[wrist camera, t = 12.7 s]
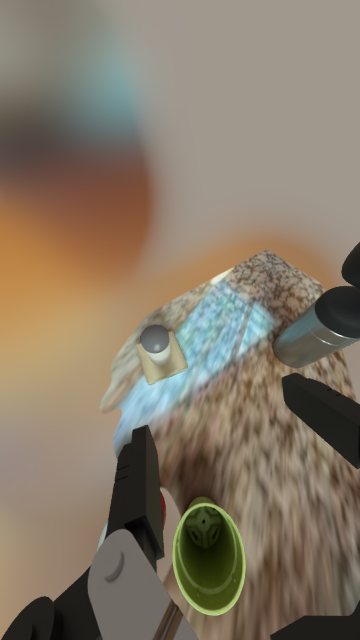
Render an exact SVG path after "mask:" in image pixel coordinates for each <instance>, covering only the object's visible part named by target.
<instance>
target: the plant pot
mask: <svg viewBox="0 0 360 640" xmlns="http://www.w3.org/2000/svg"><path fill="white" fill-rule="evenodd" d="M211 507H213V508H214V509H215V510H214V511H213V509H212V508H211ZM192 510H193V511H192ZM191 511H192V512H191ZM203 519H204V520H205V523H204V524H203V523H202V520H203ZM216 529H217V534H216V536H215V537H214V538H212V536H213V534H214V533H215V530H216ZM192 531H194V533H195V535H196V536H197V537H198V538H199V540H196V539H195V537H194V536H193V534H192ZM173 567H174V572H175V576H176V579H177V582H178V585H179V587H180V589H181V591H182V593H183V595H184V596H185V598H186V599H187V600H188V602H189V603H190V604H191V605H192V606H193V607H194V608H195V609H197V610H198V611H200V612H202V613H204V614H207V615H220V614H223V613H225V612H226V611H228V610H229V609H230V608H231V607H232V606H233V605H234V604H235V602H236V601H237V599H238V597H239V595H240V593H241V590H242V587H243V583H244V578H245V567H246V566H245V552H244V547H243V542H242V539H241V536H240V533H239V531H238V529H237V527H236V525H235V523H234V522H233V520H232V519H231V517H230V516H229V515H228V514H227V513H226V512H225V511H224V510H223V509H222V508H220V507H219V506H217V505H215V503H214V502H213V501H212V500H211V499H209V498H207V497H197V498H195V499H194V500H193V501H192V502H191V503H190V505H189V507H188V509H187V511H186V512H185V513H184V515H183V516H182V518H181V519H180V522H179V523H178V526H177V528H176V531H175V535H174V541H173Z"/></svg>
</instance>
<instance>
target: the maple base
mask: <svg viewBox="0 0 360 640" xmlns="http://www.w3.org/2000/svg"><path fill="white" fill-rule="evenodd" d="M168 333H169V338H170V346H171V351H172V358H171V360H170V362H169V363H168V364H166V365H164V366H157V365H155V364H153V363H152V361H151V360H150V358H149V356H148V354H147V352H146V350H145V349H144V348H143V346H142V344H141V343H139V344H136V347H137V350H138V354H139V357H140V361H141V364H142V367H143V371H144V374H145V378H146V381H147V383H148V384H149V385H152V384H155V383H157V382H159V381H162V380H164V379H166V378H169V377H171V376H173V375H176V374H178V373H180V372H183V371H185V370H187V369H188V365H187V363H186V361H185V358H184V356H183V354H182V351H181V349H180V347H179V345H178V342H177V340H176V338H175V335H174V333H173V331H170V332H168Z"/></svg>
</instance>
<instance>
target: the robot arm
mask: <svg viewBox="0 0 360 640" xmlns="http://www.w3.org/2000/svg"><path fill="white" fill-rule="evenodd" d="M341 273H342V277H343V278H344V280H345V281H346V282H348V283H350V284H351V285H353V286H340V287H335V288H332V289H330V290H328V291H326V292H325V293H324V294H323V295H321V296H320V297H319V298H318V299H317V300H316V301H315V302H314V303H313V304H312V305H311V306H310V307H309V308H308V309H307V310H306V311H305V312H304V313H302V314H301V315H300V316H299V317H298V318H297V319H296V320H295V321H294V322H293V323H292V324H291V325H290V326H289V327H287V328H286V329H285V330H284V331H283V332H282V333H281V334H280V335H279V336H278V337H277V338H276V339H275V340H274V342H273V350H274V353H275V355H276V356H277V358H278V359H279V360H280V361H281V362H282V363H284V364H286V365H287V366H290V367H294V368H301V367H304V366H306V365H308V364H310V363H313V362H315V361H317V360H319V359H321V358H323V357H325V356H328V355H330V354H332V353H334V352H336V351H338V350H340V349H342V348H345V347H347V346H349V345H351V344H353V343H355V342H357V341H359V340H360V242H359V243H358V244H357V245H356V246H355V248H354V249H353V250H352V251H351V252H350V254H349V255H348V256H347V258H346V260H345V262H344V264H343V266H342V271H341ZM354 286H355V287H354ZM282 385H283V396H284V401H285V403H286V405H287V406H288V408H289V409H290V410H291V411H292V412H293V413H294V414H296V415H297V416H298V417H299V418H300V419H301V420H302V421H303V422H305V423H306V424H307V425H308V426H309V427H310V428H311V429H312V430H314V431H315V432H316V433H317V434H318V435H319V436H320V437H321V438H323V439H324V440H325V441H326V442H327V443H328V444H329V445H330V446H332V447H333V448H334V449H335V450H336V451H337V452H338V453H339V454H341V455H342V456H343V457H344V458H345V459H346V460H347V461H348V462H350V463H351V464H352V465H353V466H354V467H355V468H356V469H359V468H360V404H358V403H356V402H355V401H353V400H351V399H349V398H348V397H346V396H344V395H341V393H339V392H337V391H335V390H332V388H330V387H329V386H327V385H325V384H323V383H322V382H319V381H316V380H313V379H310V378H308V379H307V378H305V377H304V376H302V375H300V374H298V373H292V374H290V375H287V376H284V377H283V378H282ZM163 557H164V543H163V528H162V512H161V497H160V481H159V466H158V455H157V450H156V446H155V443H154V441H153V438H152V435H151V432H150V430H149V427H148V425H145V426H142V427H139V428H137V429H134V430H133V432H132V441H131V443H129V444H126V445H124V447H123V449H122V451H121V453H120V455H119V457H118V463H117V472H116V476H115V483H114V488H113V494H112V500H111V506H110V512H109V518H108V525H107V530H106V535H105V538H104V542H103V543H102V544H101V546H100V547H99V549H98V551H97V553H96V555H95V557H94V559H93V562H92V564H91V566H90V567H89V568H88V569H87V570H86V572H85V573H84V574H83V575H82V576H81V577H80V578H79V579H78V580H76V581H75V582H74V583H73V584H72V585H71V586H70V587H69V588H68V589H67V590H65V592H63V593H62V594H61V595H60V596H59V597H58V598H57V599H56V600H55V601H52V600H51V599H50V598H49V597H46V596H44V597H40V598H37V599H35V600H34V601H32V602H31V603H30V604H29V605H27V606H26V607H25V608H24V609H23V610H22V611H21V612H20V614H19V615H18V616H17V617H16V618H15V620H14V621H13V622H12V624H11V625H10V627H9V628H8V630H7V631H6V633H5V634H4V636H3V637H2V639H1V640H199V639H198V637H197V635H196V634H195V632H194V631H193V629H192V627H191V626H190V624H189V623H188V621H187V619H186V618H185V616H184V615H183V613H182V612H181V610H180V609H179V607H178V606H177V605H176V604H175V603H174V601H173V600H172V598H171V597H170V595H169V593H168V592H167V590H166V589H165V587H164V585H163V584H162V582H161V581H160V579H159V577H158V576H157V567H156V561H157V560H159V559H161V558H163ZM270 638H271V640H360V601H359V603H358V605H357V607H356V609H355V610H354V612H353V613H352V614H351V615H350V616H303V617H302V618H300V619H298V620H296V621H295V622H293V623H291V624H289V625H288V626H286V627H284V628H282V629H281V630H279V631H277V632H275V633H274V634H272V635H270Z"/></svg>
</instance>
